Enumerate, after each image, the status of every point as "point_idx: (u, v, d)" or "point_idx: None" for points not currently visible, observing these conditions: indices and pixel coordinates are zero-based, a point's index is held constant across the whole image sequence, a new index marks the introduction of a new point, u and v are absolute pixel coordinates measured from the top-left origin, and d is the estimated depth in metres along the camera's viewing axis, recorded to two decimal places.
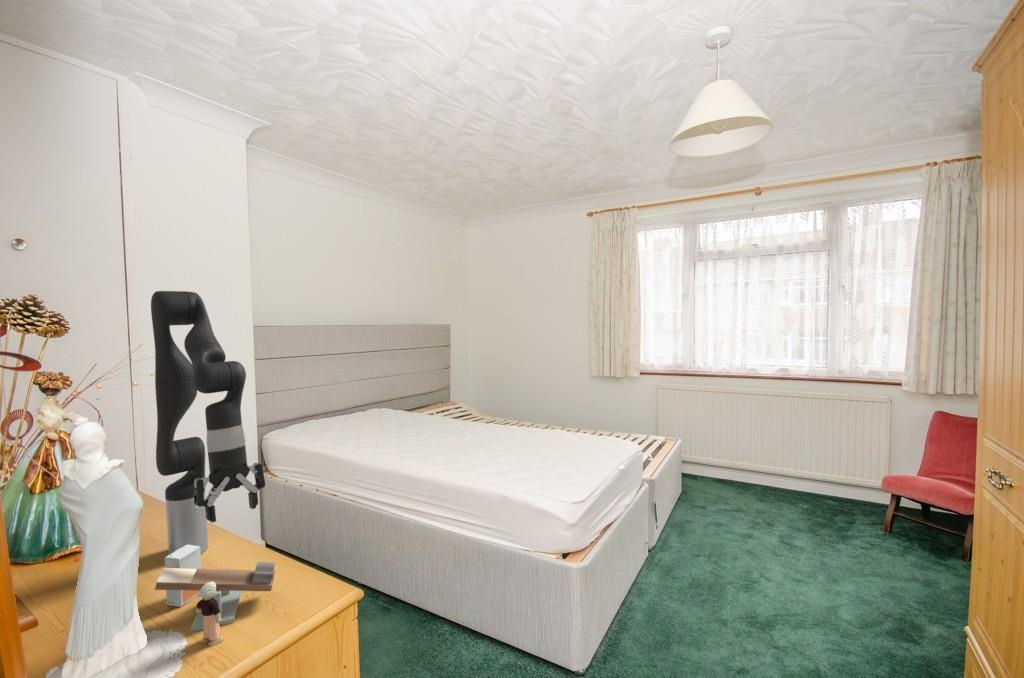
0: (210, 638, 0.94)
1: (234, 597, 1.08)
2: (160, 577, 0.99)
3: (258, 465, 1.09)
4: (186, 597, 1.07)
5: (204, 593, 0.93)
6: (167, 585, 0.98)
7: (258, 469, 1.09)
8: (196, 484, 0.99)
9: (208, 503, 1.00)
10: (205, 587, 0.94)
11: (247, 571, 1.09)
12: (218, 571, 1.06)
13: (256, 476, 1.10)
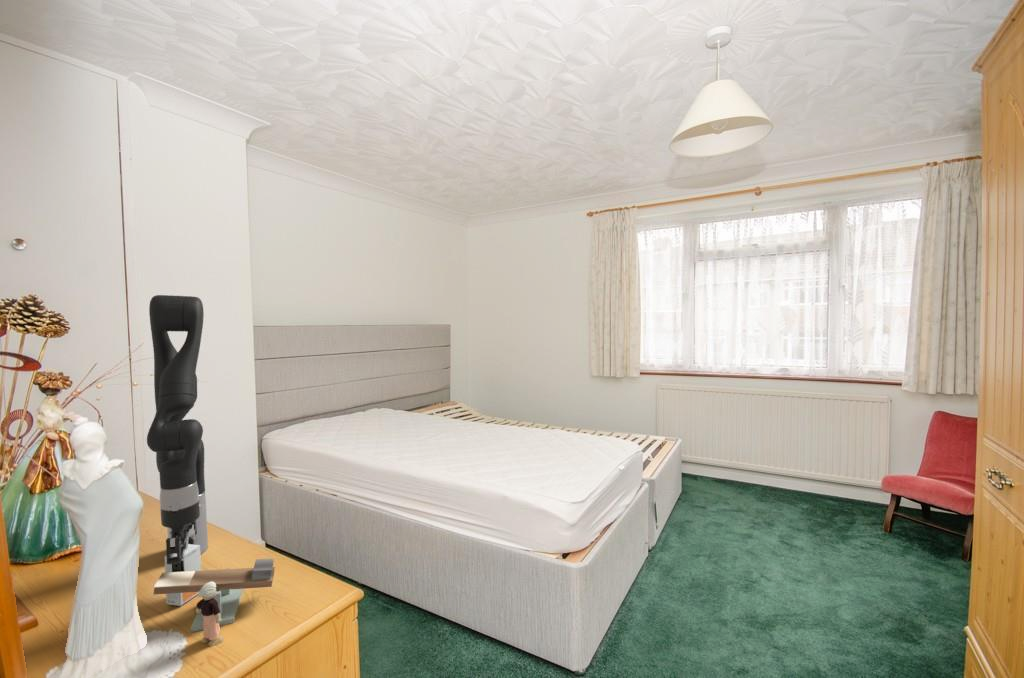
0: (210, 638, 0.94)
1: (234, 597, 1.08)
2: (158, 581, 0.99)
3: None
4: (186, 596, 1.07)
5: (204, 593, 0.93)
6: (165, 589, 0.98)
7: None
8: (176, 542, 1.02)
9: (182, 557, 1.04)
10: (205, 587, 0.94)
11: (246, 569, 1.09)
12: (217, 571, 1.06)
13: None
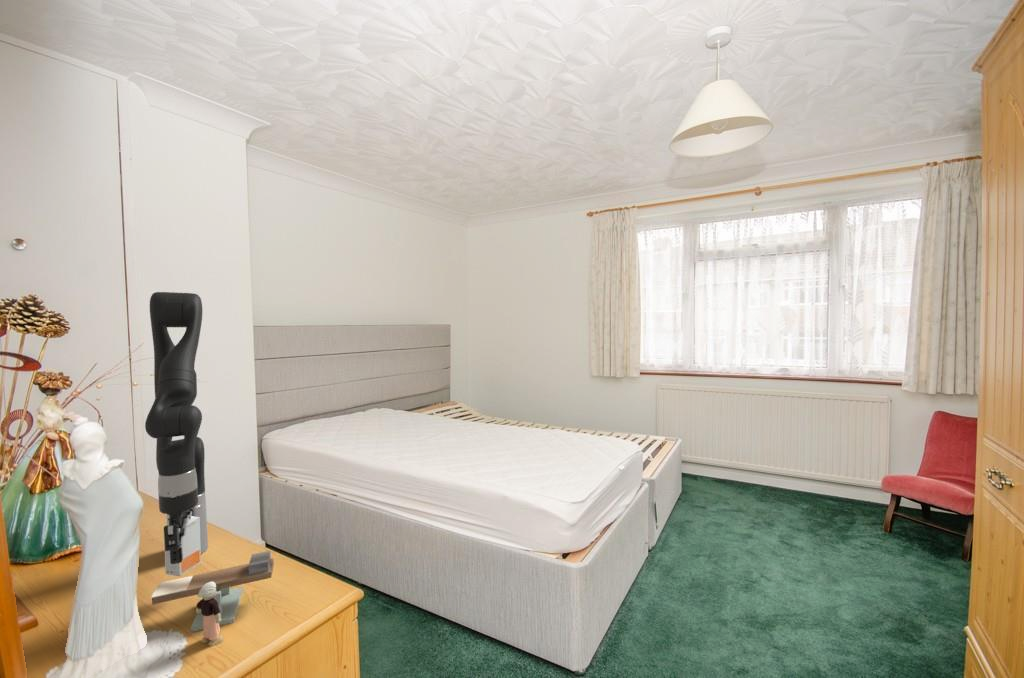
0: (210, 638, 0.94)
1: (234, 597, 1.08)
2: (155, 591, 0.99)
3: None
4: (185, 567, 1.07)
5: (204, 593, 0.93)
6: (163, 597, 0.98)
7: None
8: (174, 530, 1.01)
9: (180, 544, 1.04)
10: (205, 587, 0.94)
11: (244, 565, 1.08)
12: (215, 572, 1.06)
13: None
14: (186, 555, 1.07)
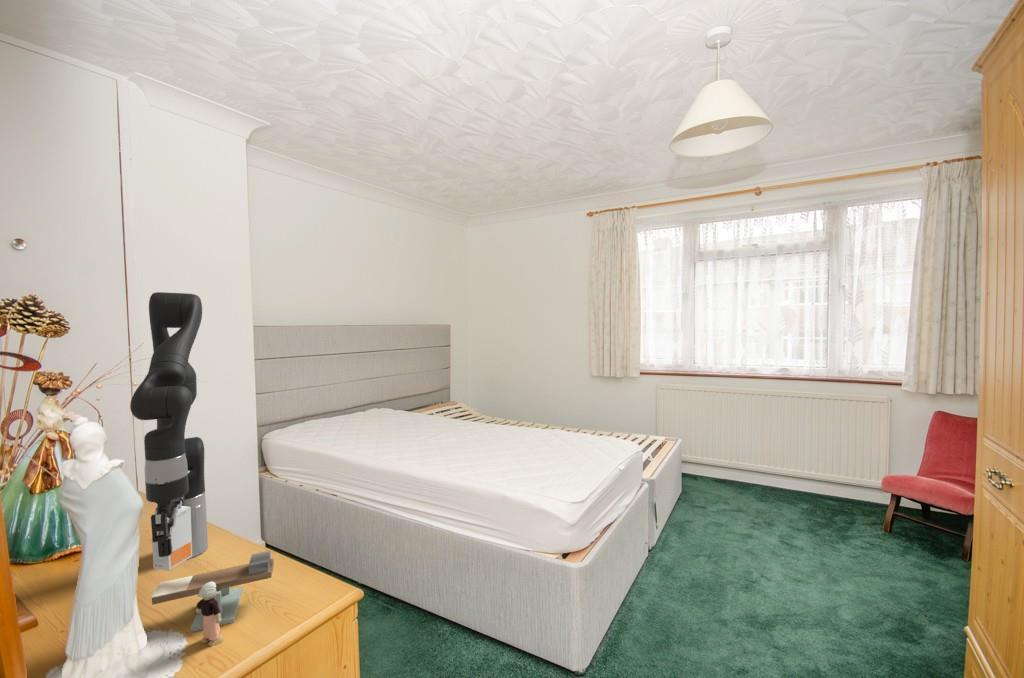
0: (210, 638, 0.94)
1: (234, 597, 1.08)
2: (155, 591, 0.99)
3: None
4: (175, 560, 0.99)
5: (204, 593, 0.93)
6: (163, 597, 0.98)
7: (183, 496, 1.06)
8: (162, 519, 0.94)
9: (169, 535, 0.96)
10: (205, 587, 0.94)
11: (244, 565, 1.08)
12: (215, 572, 1.06)
13: None
14: (175, 547, 0.99)
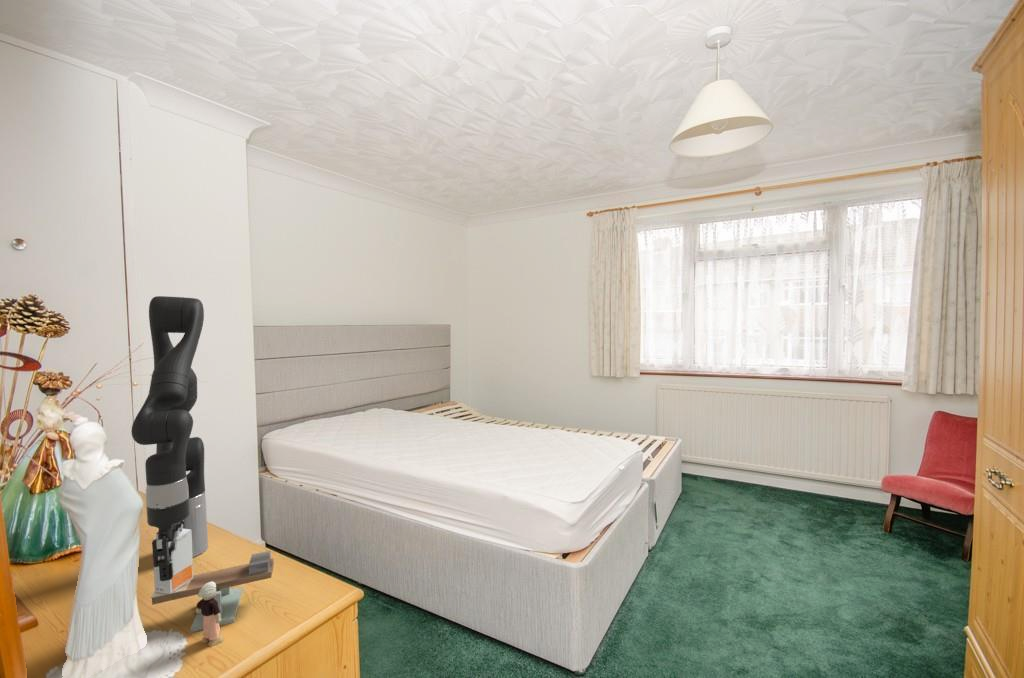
0: (210, 638, 0.94)
1: (234, 597, 1.08)
2: None
3: None
4: (176, 584, 0.99)
5: (204, 593, 0.93)
6: (163, 597, 0.98)
7: None
8: (163, 544, 0.94)
9: (170, 560, 0.97)
10: (205, 587, 0.94)
11: (244, 565, 1.08)
12: (215, 572, 1.06)
13: None
14: (177, 570, 0.99)
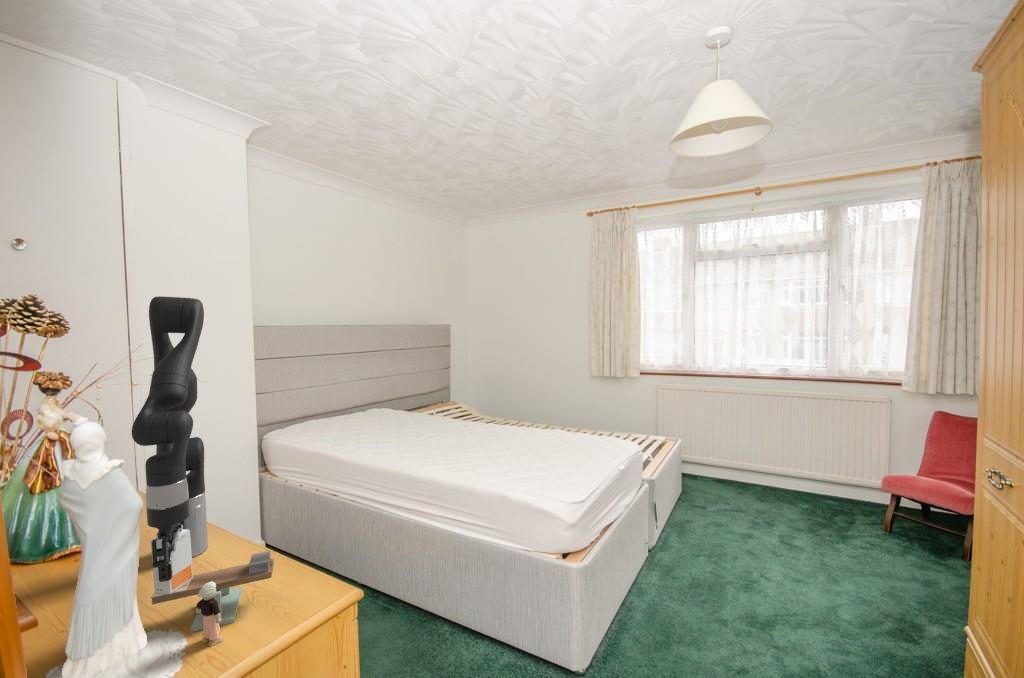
0: (210, 638, 0.94)
1: (234, 597, 1.08)
2: None
3: None
4: (176, 584, 0.99)
5: (204, 593, 0.93)
6: (163, 597, 0.98)
7: None
8: (163, 544, 0.94)
9: (170, 560, 0.96)
10: (205, 587, 0.94)
11: (244, 565, 1.08)
12: (215, 572, 1.06)
13: None
14: (176, 571, 0.99)
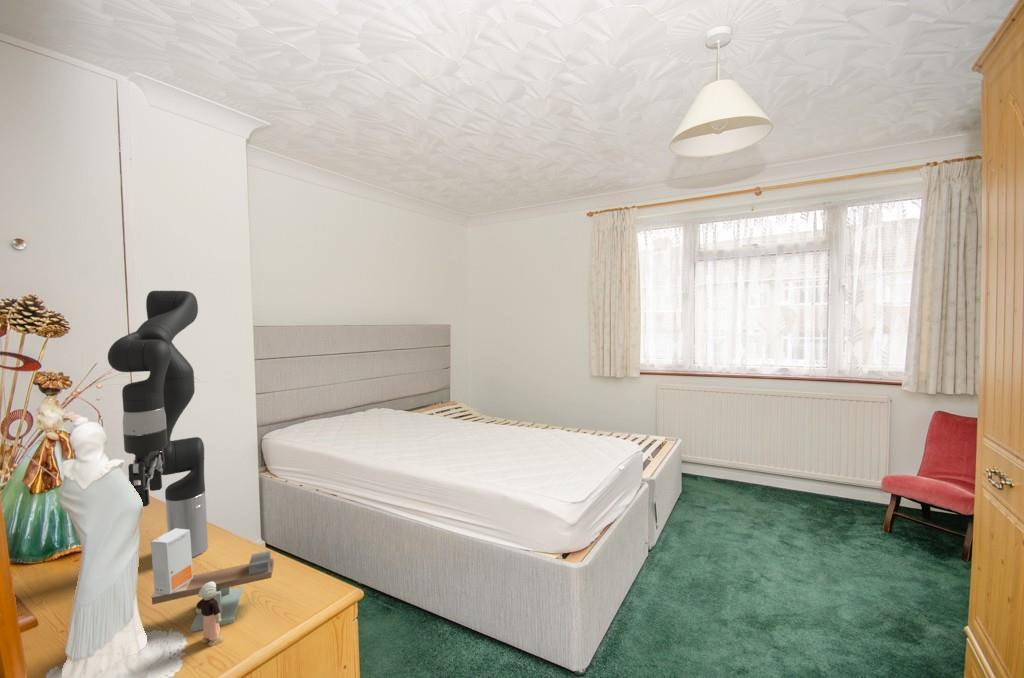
0: (210, 638, 0.94)
1: (234, 597, 1.08)
2: None
3: None
4: (175, 584, 0.99)
5: (204, 593, 0.93)
6: (163, 597, 0.98)
7: (162, 449, 1.06)
8: (139, 468, 0.95)
9: (147, 486, 0.97)
10: (205, 587, 0.94)
11: (244, 565, 1.08)
12: (215, 572, 1.06)
13: None
14: (176, 571, 0.99)
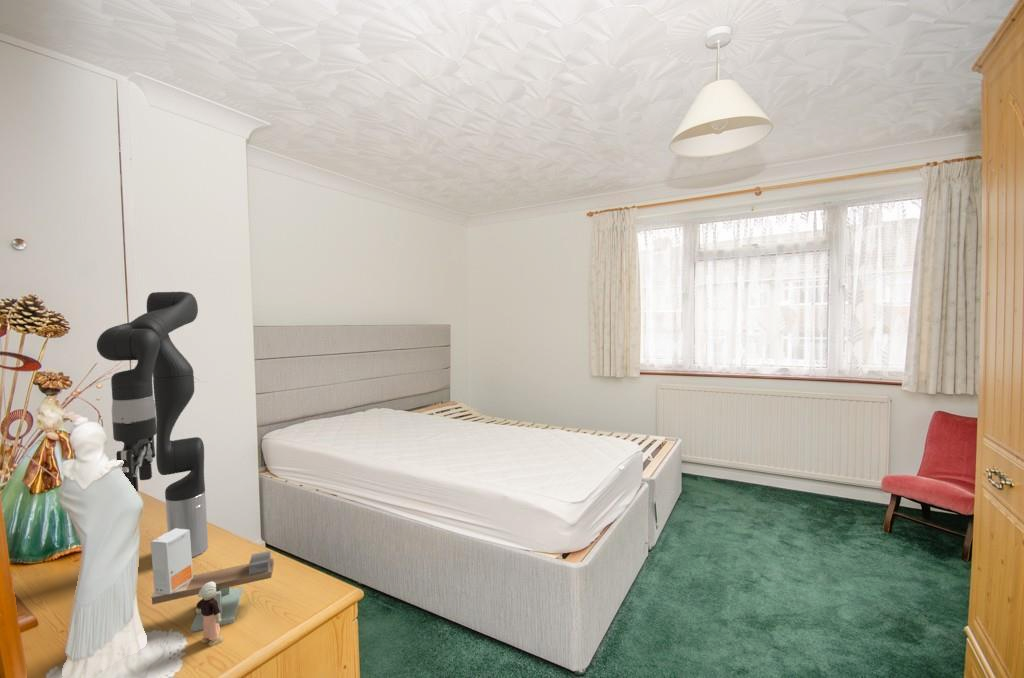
0: (210, 638, 0.94)
1: (234, 597, 1.08)
2: None
3: (152, 435, 1.07)
4: (175, 584, 0.99)
5: (204, 593, 0.93)
6: (163, 597, 0.98)
7: (152, 439, 1.07)
8: (127, 455, 0.95)
9: (135, 474, 0.98)
10: (205, 587, 0.94)
11: (244, 565, 1.08)
12: (215, 572, 1.06)
13: None
14: (176, 571, 0.99)
